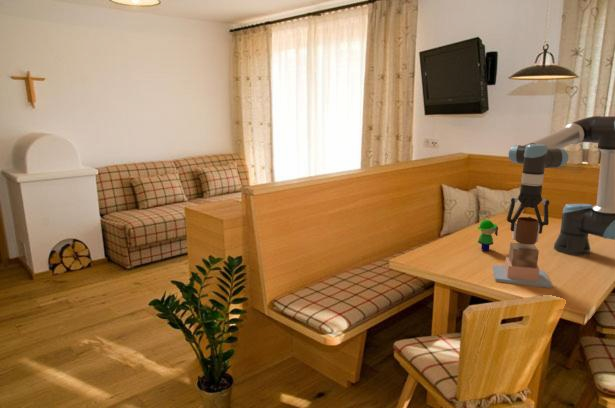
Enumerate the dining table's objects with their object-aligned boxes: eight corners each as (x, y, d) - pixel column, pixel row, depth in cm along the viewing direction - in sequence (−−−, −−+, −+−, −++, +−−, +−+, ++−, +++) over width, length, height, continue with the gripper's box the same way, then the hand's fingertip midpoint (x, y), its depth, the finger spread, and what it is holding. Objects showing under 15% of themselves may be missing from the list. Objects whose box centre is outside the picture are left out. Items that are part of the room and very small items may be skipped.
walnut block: (532, 260, 177) (534, 244, 176) (536, 268, 169) (538, 251, 167) (508, 258, 180) (510, 242, 178) (511, 265, 171) (513, 248, 170)
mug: (517, 235, 179) (520, 213, 177) (538, 238, 175) (541, 216, 173) (513, 242, 169) (516, 219, 167) (535, 246, 165) (538, 222, 163)
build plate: (544, 273, 180) (546, 259, 178) (551, 288, 165) (553, 273, 164) (492, 267, 186) (494, 253, 185) (495, 281, 172) (497, 266, 170)
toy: (496, 253, 205) (499, 222, 201) (477, 251, 206) (480, 221, 203) (492, 247, 213) (495, 218, 210) (473, 246, 215) (476, 217, 212)
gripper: (559, 184, 167) (551, 240, 172) (502, 181, 174) (496, 234, 179) (563, 187, 160) (555, 245, 165) (504, 184, 167) (498, 240, 172)
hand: (524, 239), depth 172 cm, fingers closed on mug, 7 cm apart
